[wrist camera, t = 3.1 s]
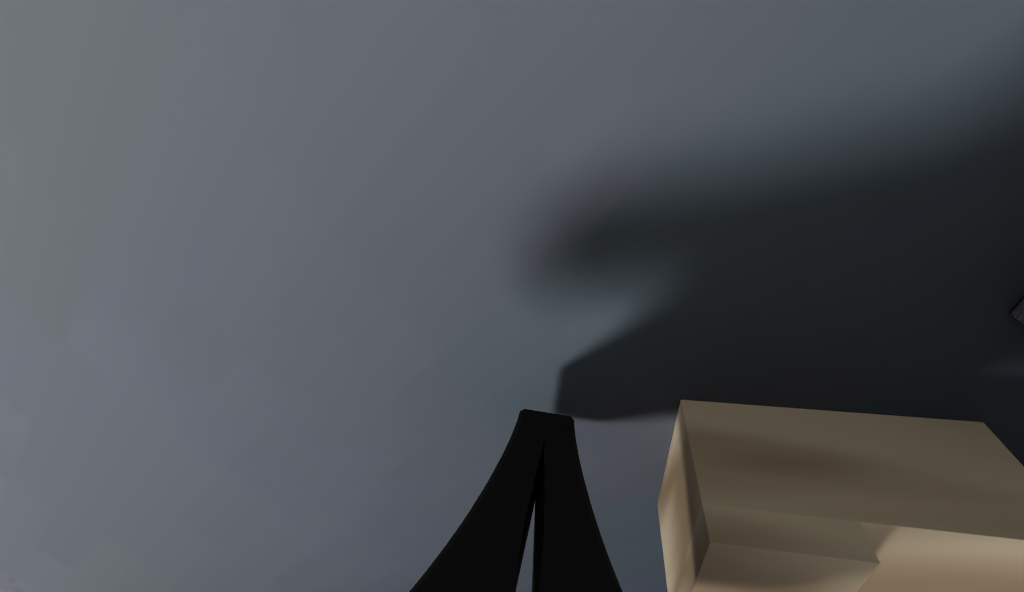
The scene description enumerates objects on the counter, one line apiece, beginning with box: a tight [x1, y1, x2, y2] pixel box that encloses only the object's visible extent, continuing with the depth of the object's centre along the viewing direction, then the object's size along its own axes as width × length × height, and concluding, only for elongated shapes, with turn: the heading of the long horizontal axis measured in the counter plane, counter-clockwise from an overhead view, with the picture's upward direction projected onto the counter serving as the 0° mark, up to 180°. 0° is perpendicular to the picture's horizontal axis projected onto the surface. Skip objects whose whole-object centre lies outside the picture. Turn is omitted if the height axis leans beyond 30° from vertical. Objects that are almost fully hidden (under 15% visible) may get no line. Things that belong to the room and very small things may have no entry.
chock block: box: [658, 400, 1024, 592], centre depth 11 cm, size 5×7×4 cm
